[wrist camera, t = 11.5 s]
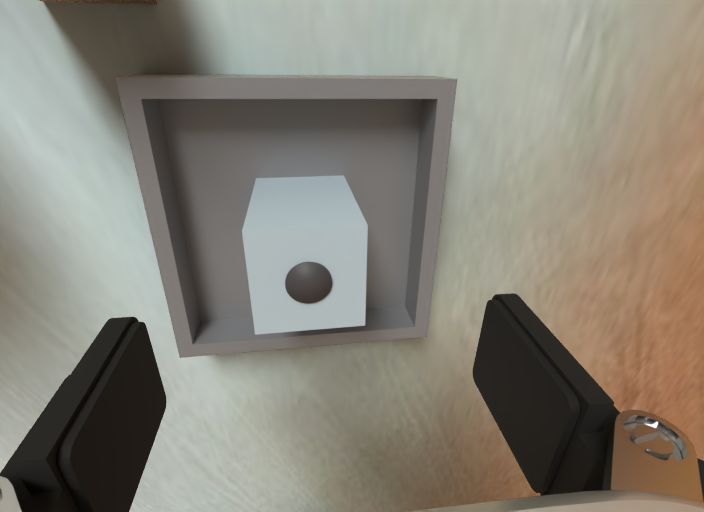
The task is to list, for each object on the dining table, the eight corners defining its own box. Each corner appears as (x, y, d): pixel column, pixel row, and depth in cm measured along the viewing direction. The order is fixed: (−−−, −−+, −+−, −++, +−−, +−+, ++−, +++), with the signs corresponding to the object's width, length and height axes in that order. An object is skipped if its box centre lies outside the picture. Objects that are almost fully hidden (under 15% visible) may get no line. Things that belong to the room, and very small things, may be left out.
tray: (434, 76, 20) (457, 79, 17) (412, 308, 26) (426, 336, 24) (140, 74, 18) (114, 76, 15) (191, 325, 24) (180, 357, 22)
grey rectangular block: (343, 175, 21) (368, 226, 14) (344, 252, 23) (365, 326, 16) (256, 178, 20) (241, 232, 14) (264, 257, 22) (254, 336, 16)
